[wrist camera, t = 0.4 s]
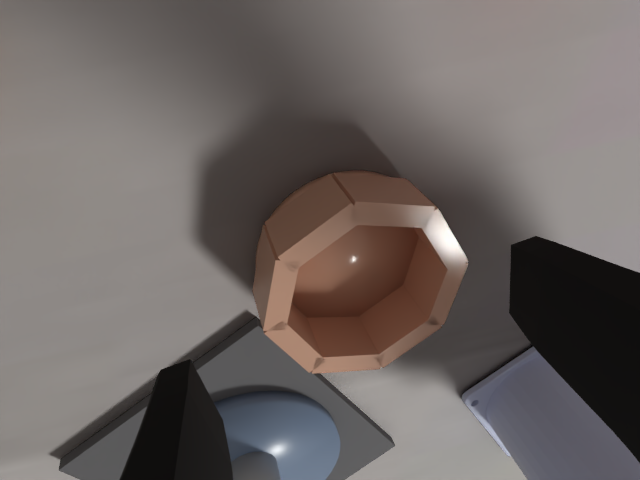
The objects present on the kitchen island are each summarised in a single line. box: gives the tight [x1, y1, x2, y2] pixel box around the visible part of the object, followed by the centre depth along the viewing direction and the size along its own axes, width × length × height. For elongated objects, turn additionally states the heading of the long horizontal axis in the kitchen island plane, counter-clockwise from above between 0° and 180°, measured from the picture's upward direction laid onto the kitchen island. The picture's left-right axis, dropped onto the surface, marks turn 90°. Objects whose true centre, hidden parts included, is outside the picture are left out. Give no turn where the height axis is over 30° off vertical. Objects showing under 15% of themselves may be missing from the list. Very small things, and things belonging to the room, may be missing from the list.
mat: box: [59, 317, 395, 480], centre depth 26 cm, size 14×12×1 cm
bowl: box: [253, 170, 469, 374], centre depth 20 cm, size 8×8×3 cm
